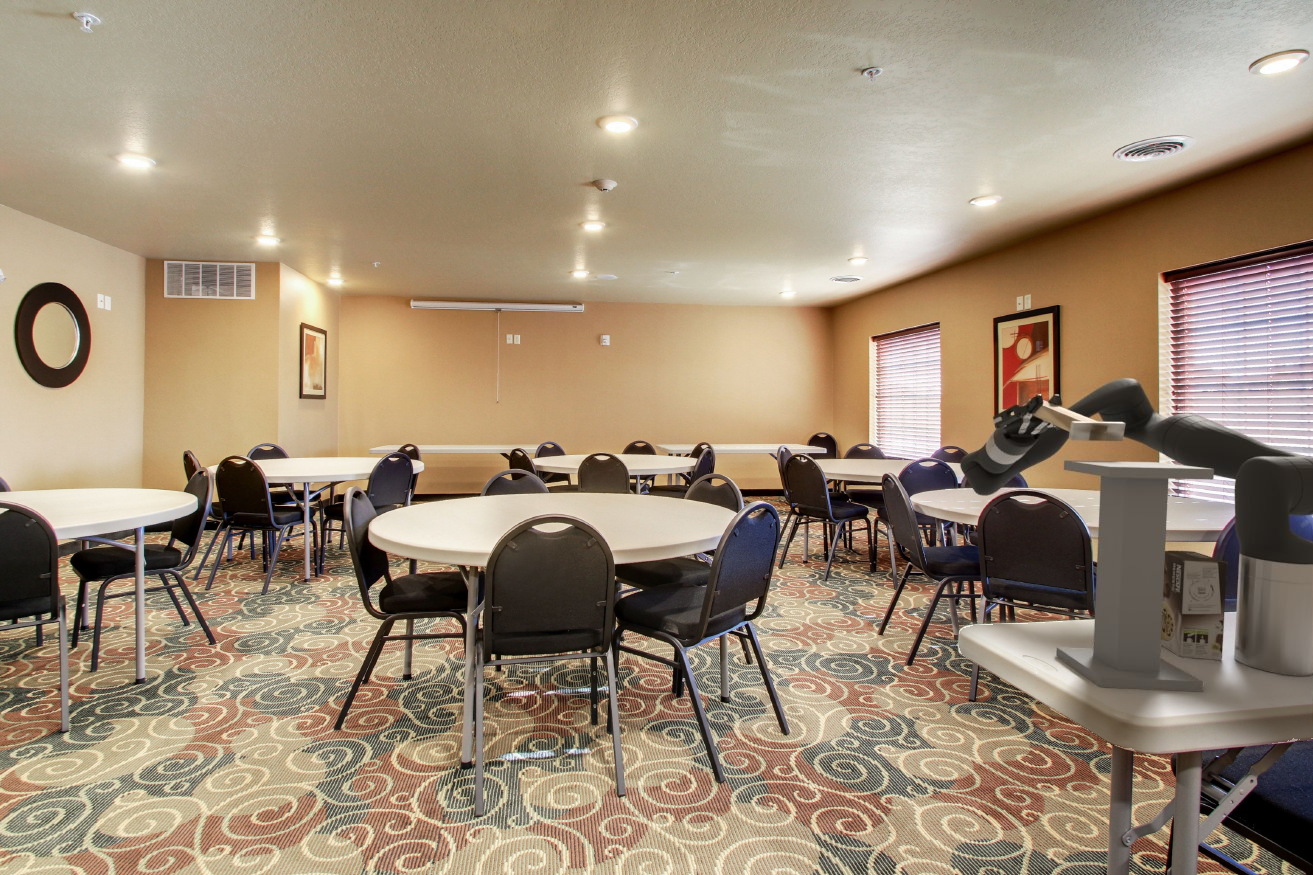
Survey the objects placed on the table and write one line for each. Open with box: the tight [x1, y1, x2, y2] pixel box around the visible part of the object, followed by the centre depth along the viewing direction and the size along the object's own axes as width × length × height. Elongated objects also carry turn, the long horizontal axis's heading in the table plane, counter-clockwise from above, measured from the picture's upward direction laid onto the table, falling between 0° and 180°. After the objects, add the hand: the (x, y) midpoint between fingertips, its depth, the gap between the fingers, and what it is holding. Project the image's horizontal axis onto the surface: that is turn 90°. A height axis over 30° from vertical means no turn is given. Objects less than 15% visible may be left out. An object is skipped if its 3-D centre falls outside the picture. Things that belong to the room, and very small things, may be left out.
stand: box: [1055, 460, 1215, 693], centre depth 100 cm, size 14×12×32 cm
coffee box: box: [1161, 550, 1228, 661], centre depth 111 cm, size 9×6×16 cm
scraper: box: [1027, 399, 1126, 442], centre depth 119 cm, size 8×22×3 cm, turn 176°
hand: (1049, 398), depth 124 cm, fingers closed on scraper, 2 cm apart
